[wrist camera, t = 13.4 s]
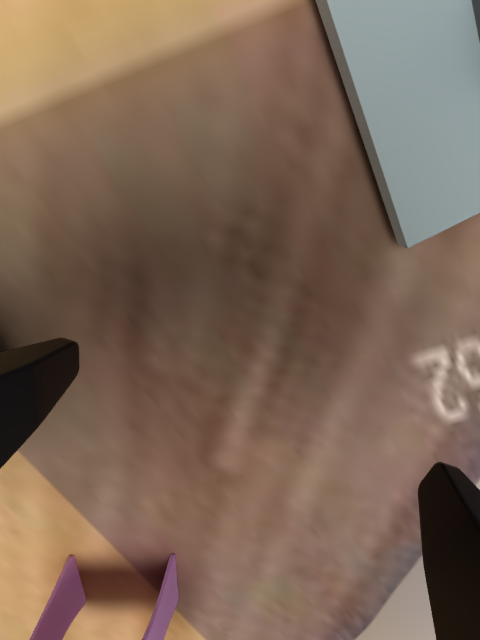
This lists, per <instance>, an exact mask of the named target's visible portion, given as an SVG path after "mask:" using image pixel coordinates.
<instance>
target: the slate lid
mask: <svg viewBox="0 0 480 640" xmlns="http://www.w3.org/2000/svg"><path fill="white" fill-rule="evenodd" d="M316 3H317V6H318V9H319V12H320V15H321V18H322V21H323V24H324V27H325V30H326V33H327V36H328V39H329V42H330V45H331V48H332V51H333V54H334V57H335V60H336V63H337V66H338V69H339V72H340V74H341V77H342V80H343V83H344V86H345V89H346V92H347V95H348V98H349V101H350V104H351V107H352V110H353V113H354V116H355V119H356V122H357V125H358V128H359V131H360V134H361V137H362V140H363V143H364V146H365V148H366V151H367V154H368V157H369V160H370V163H371V166H372V169H373V172H374V175H375V178H376V181H377V184H378V187H379V190H380V193H381V196H382V199H383V202H384V205H385V208H386V211H387V214H388V217H389V220H390V222H391V225H392V228H393V231H394V234H395V237H396V240H397V243H398V245H401V246H403V247H406V248H409V247H411V246H414V245H416V244H418V243H420V242H422V241H424V240H426V239H428V238H430V237H432V236H434V235H436V234H438V233H440V232H442V231H444V230H446V229H448V228H450V227H452V226H454V225H456V224H458V223H460V222H462V221H464V220H466V219H468V218H470V217H472V216H474V215H476V214H478V213H480V0H316Z"/></svg>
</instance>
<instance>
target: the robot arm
mask: <svg viewBox="0 0 480 640" xmlns="http://www.w3.org/2000/svg"><path fill="white" fill-rule="evenodd" d="M78 371H79V346H78V344H77V343H76V342H75V341H72V340H69V339H66V338H57V339H53V340H49V341H45V342H41V343H37V344H33V345H29V346H24V347H20V348H16V349H12V350H8V351H4V352H0V469H1V467H2V466H3V465H4V464H5V463H6V462H7V461H8V460H9V459H10V458H11V456H12V455H13V454H14V453H15V452H16V451H17V450H18V449H19V448H20V447H21V446H22V444H23V443H24V442H25V441H26V440H27V439H28V438H29V437H30V436H31V435H32V433H33V432H34V431H35V430H36V429H37V428H38V427H39V425H40V424H41V423H42V422H43V420H44V419H45V418H46V417H47V415H48V414H49V412H50V411H51V410H52V408H53V407H54V406H55V404H56V403H57V402H58V400H59V399H60V398H61V396H62V395H63V394H64V392H65V391H66V390H67V388H68V387H69V386H70V384H71V383H72V382H73V380H74V379H75V378H76V376H77V374H78ZM418 501H419V515H420V529H421V542H422V555H423V564H424V570H425V576H426V583H427V588H428V594H429V600H430V605H431V611H432V617H433V622H434V628H435V634H436V640H480V490H479V489H478V488H477V487H476V486H475V485H474V484H473V483H472V482H471V481H470V479H469V478H468V477H467V476H466V475H465V474H464V473H463V472H462V471H461V470H460V469H459V468H457V467H455V466H452V465H449V464H446V463H443V462H437V463H435V464H434V466H433V467H432V468H431V469H430V471H429V472H428V473H427V475H426V476H425V477H424V479H423V480H422V481H421V483H420V485H419V488H418Z"/></svg>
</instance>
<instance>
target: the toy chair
mask: <svg viewBox="0 0 480 640" xmlns="http://www.w3.org/2000/svg"><path fill="white" fill-rule="evenodd" d="M178 600H179V596H178V584H177V572H176V560H175V554H170V557H169V561H168V565H167V569H166V572H165V576H164V579H163V583H162V586H161V590H160V593H159V597H158V600H157V603H156V606H155V609H154V612H153V615H152V617H151V620H150V622H149V625H148V627H147V630H146V632H145V634H144V636H143V639H142V640H164V637H165V634H166V631H167V628H168V625H169V623H170V620H171V617H172V615H173V613H174V610H175V608H176V606H177V603H178ZM85 603H86V598H85V594H84V590H83V586H82V583H81V579H80V575H79V571H78V568H77V564H76V560H75V557H74V555H69V557H68V559H67V561H66V563H65V566H64V568H63V570H62V572H61V575H60V577H59V579H58V581H57V583H56V586H55V588H54V590H53V592H52V594H51V596H50V599H49V601H48V603H47V605H46V607H45V609H44V611H43V613H42V615H41V617H40V619H39V621H38V623H37V625H36V627H35V629H34V631H33V634H32V636H31V638H30V640H62V639H63V637H64V635H65V633H66V631H67V629H68V628H69V626H70V624H71V623H72V621H73V620H74V618H75V617H76V615H77V614H78V613H79V611H80V610H81V609H82V607H83V606H84V605H85Z"/></svg>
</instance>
